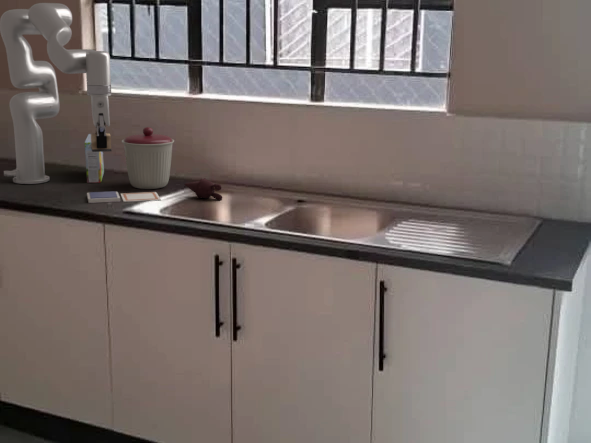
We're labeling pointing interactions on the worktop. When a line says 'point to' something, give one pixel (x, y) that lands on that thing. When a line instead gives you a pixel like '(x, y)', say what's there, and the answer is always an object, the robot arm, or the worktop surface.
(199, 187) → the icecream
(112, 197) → the ink pad
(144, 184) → the canister
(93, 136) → the stamp
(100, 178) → the snack box
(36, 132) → the robot arm
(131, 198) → the marked card
